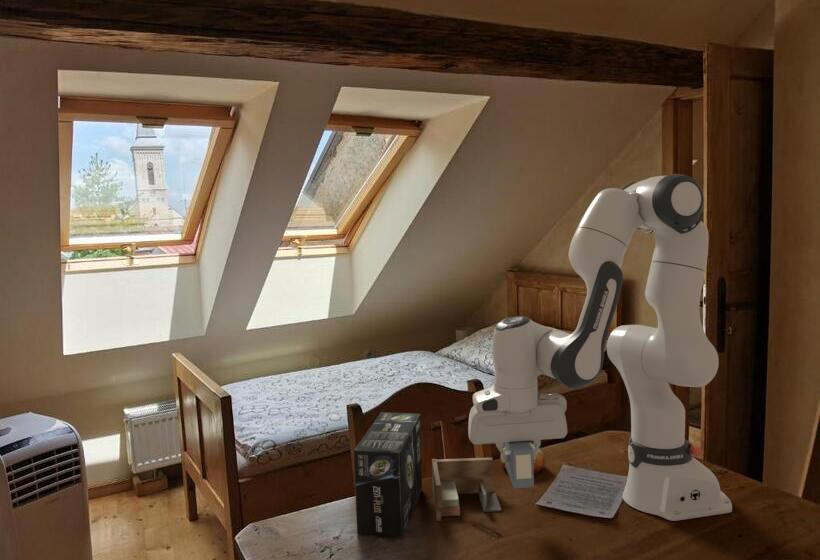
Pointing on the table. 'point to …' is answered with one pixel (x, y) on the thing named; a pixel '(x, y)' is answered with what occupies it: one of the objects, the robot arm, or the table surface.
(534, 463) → the fruit
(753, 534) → the table surface
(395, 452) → the box
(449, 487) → the shelf
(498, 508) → the bookend
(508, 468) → the book
